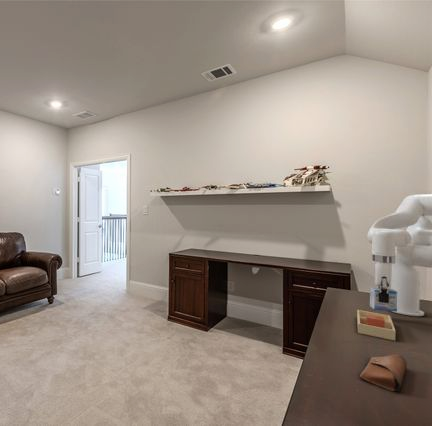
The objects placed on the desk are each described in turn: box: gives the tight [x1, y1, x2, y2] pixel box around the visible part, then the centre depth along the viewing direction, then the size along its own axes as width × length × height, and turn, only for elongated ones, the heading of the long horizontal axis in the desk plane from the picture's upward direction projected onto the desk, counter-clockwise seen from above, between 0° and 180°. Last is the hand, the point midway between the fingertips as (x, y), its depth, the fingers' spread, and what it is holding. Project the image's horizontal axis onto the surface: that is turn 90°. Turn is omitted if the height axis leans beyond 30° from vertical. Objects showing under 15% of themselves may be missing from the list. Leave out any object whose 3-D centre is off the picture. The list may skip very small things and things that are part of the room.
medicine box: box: [369, 287, 397, 312], centre depth 129 cm, size 8×4×9 cm, turn 67°
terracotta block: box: [366, 314, 385, 328], centre depth 115 cm, size 5×5×5 cm
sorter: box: [356, 309, 396, 342], centre depth 119 cm, size 20×10×4 cm, turn 141°
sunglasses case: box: [359, 354, 408, 392], centre depth 85 cm, size 18×7×7 cm
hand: (383, 300), depth 129 cm, fingers closed on medicine box, 5 cm apart
